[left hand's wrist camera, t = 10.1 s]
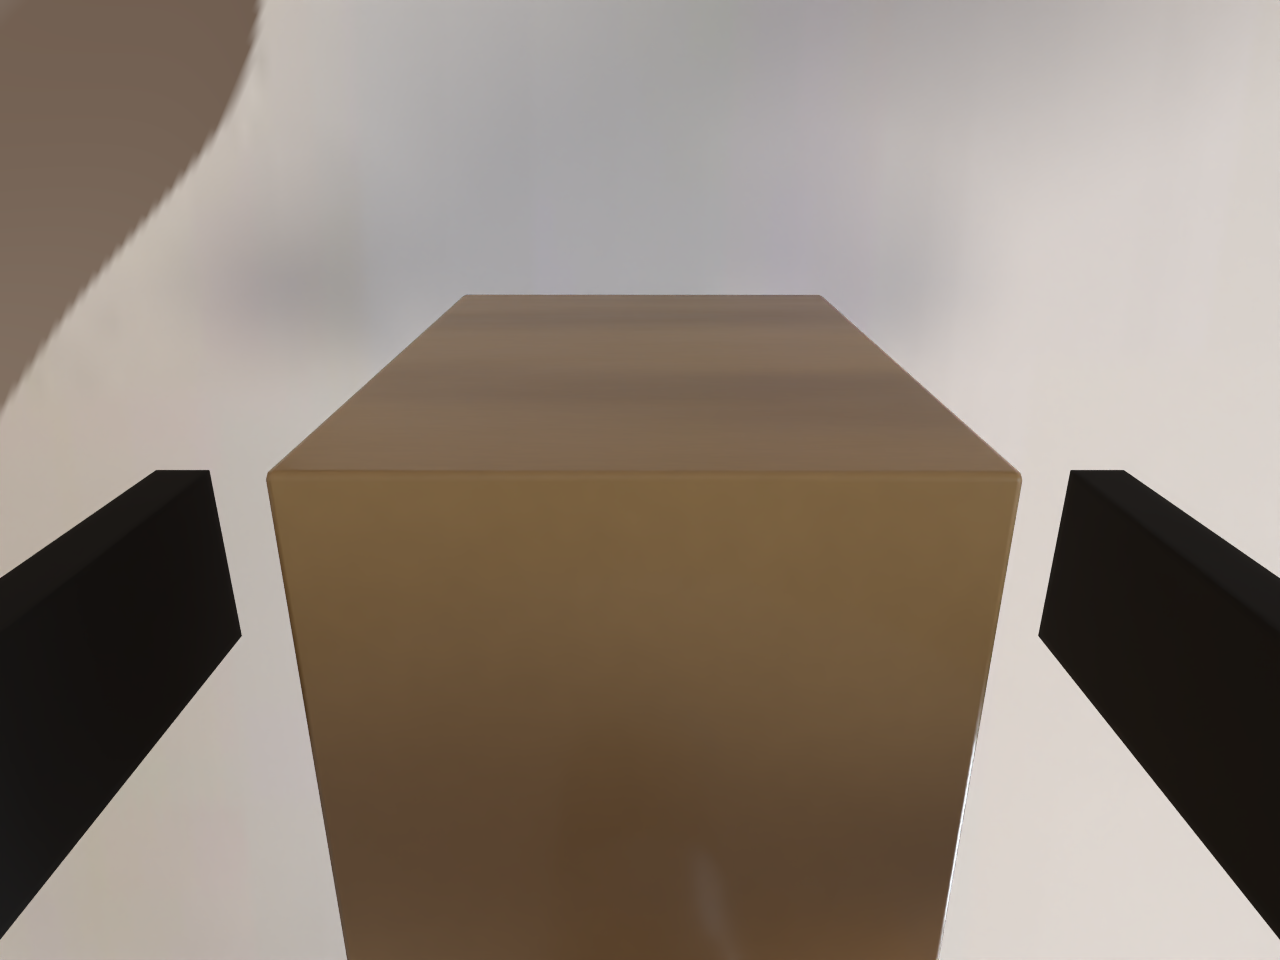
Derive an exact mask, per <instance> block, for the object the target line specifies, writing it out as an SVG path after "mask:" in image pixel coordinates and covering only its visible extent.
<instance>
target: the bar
mask: <svg viewBox="0 0 1280 960" xmlns="http://www.w3.org/2000/svg"><path fill="white" fill-rule="evenodd" d="M266 482H267V488H268V493H269V499H270V505H271V511H272V517H273V523H274V529H275V535H276V541H277V547H278V553H279V558H280V564H281V570H282V576H283V582H284V588H285V594H286V600H287V606H288V612H289V618H290V623H291V629H292V635H293V641H294V647H295V653H296V659H297V665H298V671H299V677H300V682H301V688H302V694H303V700H304V706H305V712H306V718H307V724H308V730H309V736H310V742H311V747H312V753H313V759H314V765H315V771H316V777H317V783H318V789H319V795H320V801H321V807H322V812H323V818H324V824H325V830H326V836H327V842H328V848H329V854H330V860H331V866H332V872H333V877H334V883H335V889H336V895H337V901H338V907H339V913H340V919H341V925H342V931H343V937H344V942H345V948H346V954H347V960H939V955H940V949H941V944H942V938H943V932H944V926H945V921H946V915H947V909H948V903H949V898H950V892H951V886H952V881H953V875H954V869H955V863H956V858H957V852H958V846H959V840H960V835H961V829H962V823H963V817H964V812H965V806H966V800H967V794H968V789H969V783H970V777H971V771H972V766H973V760H974V754H975V748H976V743H977V737H978V731H979V726H980V720H981V714H982V708H983V703H984V697H985V691H986V685H987V680H988V674H989V668H990V662H991V657H992V651H993V645H994V639H995V634H996V628H997V622H998V616H999V611H1000V605H1001V599H1002V594H1003V588H1004V582H1005V576H1006V571H1007V565H1008V559H1009V553H1010V548H1011V542H1012V536H1013V530H1014V525H1015V519H1016V513H1017V507H1018V502H1019V496H1020V490H1021V484H1022V477H1021V474H1020V472H1019V471H1017V470H1016V469H1015V468H1014V467H1013V466H1012V465H1011V464H1010V463H1008V462H1007V461H1006V460H1005V459H1004V458H1003V457H1002V456H1001V455H999V454H998V453H997V452H996V451H995V450H994V449H993V448H992V447H990V446H989V445H988V444H987V443H986V442H985V441H984V440H983V439H981V438H980V437H979V436H978V435H977V434H976V433H975V432H974V431H973V430H971V429H970V428H969V427H968V426H967V425H966V424H965V423H964V422H962V421H961V420H960V419H959V418H958V417H957V416H956V415H955V414H953V413H952V412H951V411H950V410H949V409H948V408H947V407H946V406H944V405H943V404H942V403H941V402H940V401H939V400H938V399H937V398H935V397H934V396H933V395H932V394H931V393H930V392H929V391H928V390H927V389H925V388H924V387H923V386H922V385H921V384H920V383H919V382H918V381H916V380H915V379H914V378H913V377H912V376H911V375H910V374H909V373H907V372H906V371H905V370H904V369H903V368H902V367H901V366H900V365H898V364H897V363H896V362H895V361H894V360H893V359H892V358H891V357H889V356H888V355H887V354H886V353H885V352H884V351H883V350H882V349H880V348H879V347H878V346H877V345H876V344H875V343H874V342H873V341H872V340H870V339H869V338H868V337H867V336H866V335H865V334H864V333H863V332H861V331H860V330H859V329H858V328H857V327H856V326H855V325H854V324H852V323H851V322H850V321H849V320H848V319H847V318H846V317H845V316H843V315H842V314H841V313H840V312H839V311H838V310H837V309H836V308H834V307H833V306H832V305H831V304H830V303H829V302H828V301H827V300H826V299H824V298H823V297H822V296H820V295H465V296H463V297H462V298H461V299H460V300H459V301H458V302H456V303H455V304H454V305H453V306H452V307H451V308H450V309H449V310H448V311H446V312H445V313H444V314H443V315H442V316H441V317H440V318H439V319H438V320H436V321H435V322H434V323H433V324H432V325H431V326H430V327H429V328H428V329H426V330H425V331H424V332H423V333H422V334H421V335H420V336H419V337H418V338H416V339H415V340H414V341H413V342H412V343H411V344H410V345H409V346H408V347H407V348H405V349H404V350H403V351H402V352H401V353H400V354H399V355H398V356H397V357H395V358H394V359H393V360H392V361H391V362H390V363H389V364H388V365H387V366H385V367H384V368H383V369H382V370H381V371H380V372H379V373H378V374H377V375H375V376H374V377H373V378H372V379H371V380H370V381H369V382H368V383H367V384H365V385H364V386H363V387H362V388H361V389H360V390H359V391H358V392H357V393H355V394H354V395H353V396H352V397H351V398H350V399H349V400H348V401H347V402H345V403H344V404H343V405H342V406H341V407H340V408H339V409H338V410H337V411H335V412H334V413H333V414H332V415H331V416H330V417H329V418H328V419H327V420H325V421H324V422H323V423H322V424H321V425H320V426H319V427H318V428H317V429H315V430H314V431H313V432H312V433H311V434H310V435H309V436H308V437H307V438H306V439H304V440H303V441H302V442H301V443H300V444H299V445H298V446H297V447H296V448H294V449H293V450H292V451H291V452H290V453H289V454H288V455H287V456H286V457H284V458H283V459H282V460H281V461H280V462H279V463H278V464H277V465H276V466H274V467H273V468H272V469H271V470H270V471H269V472H268V474H267V478H266Z"/></svg>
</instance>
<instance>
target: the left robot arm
mask: <svg viewBox="0 0 1280 960" xmlns="http://www.w3.org/2000/svg"><path fill="white" fill-rule="evenodd" d="M241 636H242V635H241V630H240V625H239V619H238V614H237V609H236V604H235V599H234V594H233V589H232V584H231V578H230V573H229V568H228V563H227V558H226V553H225V548H224V543H223V537H222V532H221V527H220V522H219V517H218V512H217V507H216V502H215V496H214V491H213V486H212V481H211V476H210V471H209V470H156V471H154V472H153V473H151V474H150V475H148V476H147V477H146V478H144V479H143V480H141V481H140V482H138V483H137V484H135V485H134V486H133V487H131V488H130V489H128V490H127V491H125V492H124V493H122V494H121V495H120V496H118V497H117V498H115V499H114V500H112V501H111V502H110V503H108V504H107V505H105V506H104V507H102V508H101V509H99V510H98V511H97V512H95V513H94V514H92V515H91V516H89V517H88V518H86V519H85V520H84V521H82V522H81V523H79V524H78V525H76V526H75V527H73V528H72V529H71V530H69V531H68V532H66V533H65V534H63V535H62V536H60V537H59V538H58V539H56V540H55V541H53V542H52V543H50V544H49V545H47V546H46V547H45V548H43V549H42V550H40V551H39V552H37V553H36V554H34V555H33V556H32V557H30V558H29V559H27V560H26V561H24V562H23V563H21V564H20V565H19V566H17V567H16V568H14V569H13V570H11V571H10V572H8V573H7V574H6V575H4V576H3V577H1V578H0V939H1V938H2V937H3V935H4V934H5V933H6V932H7V930H8V929H9V928H10V927H11V925H12V924H13V923H14V922H15V920H16V919H17V918H18V916H19V915H20V914H21V913H22V911H23V910H24V909H25V908H26V906H27V905H28V904H29V903H30V901H31V900H32V899H33V898H34V896H35V895H36V894H37V893H38V891H39V890H40V889H41V888H42V886H43V885H44V884H45V883H46V881H47V880H48V879H49V877H50V876H51V875H52V874H53V872H54V871H55V870H56V869H57V867H58V866H59V865H60V864H61V862H62V861H63V860H64V859H65V857H66V856H67V855H68V854H69V852H70V851H71V850H72V849H73V847H74V846H75V845H76V844H77V842H78V841H79V840H80V839H81V837H82V836H83V835H84V833H85V832H86V831H87V830H88V828H89V827H90V826H91V825H92V823H93V822H94V821H95V820H96V818H97V817H98V816H99V815H100V813H101V812H102V811H103V810H104V808H105V807H106V806H107V805H108V803H109V802H110V801H111V800H112V798H113V797H114V796H115V794H116V793H117V792H118V791H119V789H120V788H121V787H122V786H123V784H124V783H125V782H126V781H127V779H128V778H129V777H130V776H131V774H132V773H133V772H134V771H135V769H136V768H137V767H138V766H139V764H140V763H141V762H142V761H143V759H144V758H145V757H146V756H147V754H148V753H149V752H150V750H151V749H152V748H153V747H154V745H155V744H156V743H157V742H158V740H159V739H160V738H161V737H162V735H163V734H164V733H165V732H166V730H167V729H168V728H169V727H170V725H171V724H172V723H173V722H174V720H175V719H176V718H177V717H178V715H179V714H180V713H181V711H182V710H183V709H184V708H185V706H186V705H187V704H188V703H189V701H190V700H191V699H192V698H193V696H194V695H195V694H196V693H197V691H198V690H199V689H200V688H201V686H202V685H203V684H204V683H205V681H206V680H207V679H208V678H209V676H210V675H211V674H212V673H213V671H214V670H215V669H216V667H217V666H218V665H219V664H220V662H221V661H222V660H223V659H224V657H225V656H226V655H227V654H228V652H229V651H230V650H231V649H232V647H233V646H234V645H235V644H236V642H237V641H238V640H239V639H240V637H241ZM1038 636H1039V637H1040V639H1041V640H1042V641H1043V642H1044V644H1045V645H1046V646H1047V647H1048V649H1049V650H1050V651H1051V652H1052V654H1053V655H1054V656H1055V657H1056V659H1057V660H1058V661H1059V662H1060V664H1061V665H1062V666H1063V667H1064V669H1065V670H1066V671H1067V673H1068V674H1069V675H1070V676H1071V678H1072V679H1073V680H1074V681H1075V683H1076V684H1077V685H1078V686H1079V688H1080V689H1081V690H1082V691H1083V693H1084V694H1085V695H1086V696H1087V698H1088V699H1089V700H1090V701H1091V703H1092V704H1093V705H1094V706H1095V708H1096V709H1097V710H1098V712H1099V713H1100V714H1101V715H1102V717H1103V718H1104V719H1105V720H1106V722H1107V723H1108V724H1109V725H1110V727H1111V728H1112V729H1113V730H1114V732H1115V733H1116V734H1117V735H1118V737H1119V738H1120V739H1121V740H1122V742H1123V743H1124V744H1125V745H1126V747H1127V748H1128V749H1129V750H1130V752H1131V753H1132V754H1133V756H1134V757H1135V758H1136V759H1137V761H1138V762H1139V763H1140V764H1141V766H1142V767H1143V768H1144V769H1145V771H1146V772H1147V773H1148V774H1149V776H1150V777H1151V778H1152V779H1153V781H1154V782H1155V783H1156V784H1157V786H1158V787H1159V788H1160V789H1161V791H1162V792H1163V793H1164V795H1165V796H1166V797H1167V798H1168V800H1169V801H1170V802H1171V803H1172V805H1173V806H1174V807H1175V808H1176V810H1177V811H1178V812H1179V813H1180V815H1181V816H1182V817H1183V818H1184V820H1185V821H1186V822H1187V823H1188V825H1189V826H1190V827H1191V828H1192V830H1193V831H1194V832H1195V833H1196V835H1197V836H1198V837H1199V839H1200V840H1201V841H1202V842H1203V844H1204V845H1205V846H1206V847H1207V849H1208V850H1209V851H1210V852H1211V854H1212V855H1213V856H1214V857H1215V859H1216V860H1217V861H1218V862H1219V864H1220V865H1221V866H1222V867H1223V869H1224V870H1225V871H1226V872H1227V874H1228V875H1229V876H1230V878H1231V879H1232V880H1233V881H1234V883H1235V884H1236V885H1237V886H1238V888H1239V889H1240V890H1241V891H1242V893H1243V894H1244V895H1245V896H1246V898H1247V899H1248V900H1249V901H1250V903H1251V904H1252V905H1253V906H1254V908H1255V909H1256V910H1257V911H1258V913H1259V914H1260V915H1261V917H1262V918H1263V919H1264V920H1265V922H1266V923H1267V924H1268V925H1269V927H1270V928H1271V929H1272V930H1273V932H1274V933H1275V934H1276V935H1277V937H1278V938H1279V939H1280V578H1279V577H1277V576H1276V575H1274V574H1273V573H1271V572H1270V571H1269V570H1267V569H1266V568H1264V567H1263V566H1261V565H1260V564H1258V563H1257V562H1256V561H1254V560H1253V559H1251V558H1250V557H1248V556H1247V555H1246V554H1244V553H1243V552H1241V551H1240V550H1238V549H1237V548H1235V547H1234V546H1233V545H1231V544H1230V543H1228V542H1227V541H1225V540H1224V539H1222V538H1221V537H1220V536H1218V535H1217V534H1215V533H1214V532H1212V531H1211V530H1209V529H1208V528H1207V527H1205V526H1204V525H1202V524H1201V523H1199V522H1198V521H1196V520H1195V519H1194V518H1192V517H1191V516H1189V515H1188V514H1186V513H1185V512H1183V511H1182V510H1181V509H1179V508H1178V507H1176V506H1175V505H1173V504H1172V503H1170V502H1169V501H1168V500H1166V499H1165V498H1163V497H1162V496H1160V495H1159V494H1157V493H1156V492H1155V491H1153V490H1152V489H1150V488H1149V487H1147V486H1146V485H1145V484H1143V483H1142V482H1140V481H1139V480H1137V479H1136V478H1134V477H1133V476H1132V475H1130V474H1129V473H1127V472H1126V471H1124V470H1071V471H1070V476H1069V481H1068V486H1067V491H1066V496H1065V501H1064V507H1063V512H1062V517H1061V522H1060V527H1059V532H1058V537H1057V542H1056V548H1055V553H1054V558H1053V563H1052V568H1051V573H1050V578H1049V583H1048V589H1047V594H1046V599H1045V604H1044V609H1043V614H1042V619H1041V624H1040V630H1039V635H1038Z"/></svg>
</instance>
